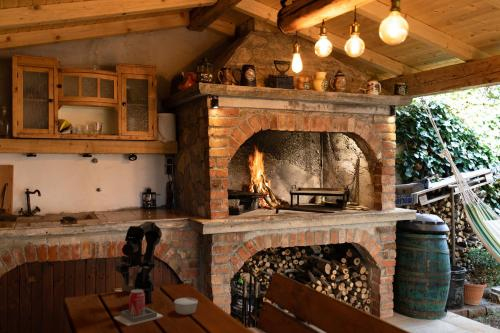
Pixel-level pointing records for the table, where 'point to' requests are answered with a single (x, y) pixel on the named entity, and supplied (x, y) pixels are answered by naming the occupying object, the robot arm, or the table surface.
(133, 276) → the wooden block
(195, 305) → the ramekin
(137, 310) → the soda can
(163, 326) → the table surface
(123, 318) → the holder board
